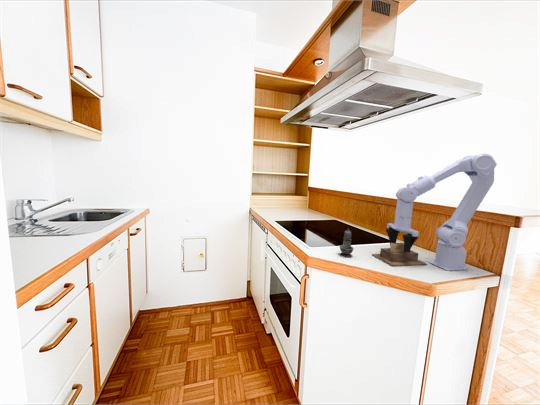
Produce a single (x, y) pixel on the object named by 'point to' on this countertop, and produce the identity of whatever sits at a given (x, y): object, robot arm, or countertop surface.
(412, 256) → the brown flanged tray
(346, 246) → the grey stone statuette
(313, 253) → the countertop surface
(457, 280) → the countertop surface
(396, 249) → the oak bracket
